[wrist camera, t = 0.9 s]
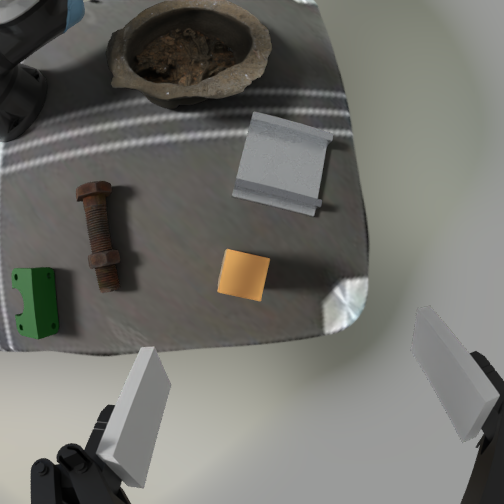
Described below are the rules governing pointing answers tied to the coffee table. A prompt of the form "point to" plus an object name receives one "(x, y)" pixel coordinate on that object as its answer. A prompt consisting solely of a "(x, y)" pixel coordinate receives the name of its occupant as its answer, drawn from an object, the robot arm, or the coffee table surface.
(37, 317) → the green notched mounting bracket
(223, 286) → the block
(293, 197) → the keeper bracket
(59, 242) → the coffee table surface
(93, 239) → the bolt
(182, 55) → the stone bowl
